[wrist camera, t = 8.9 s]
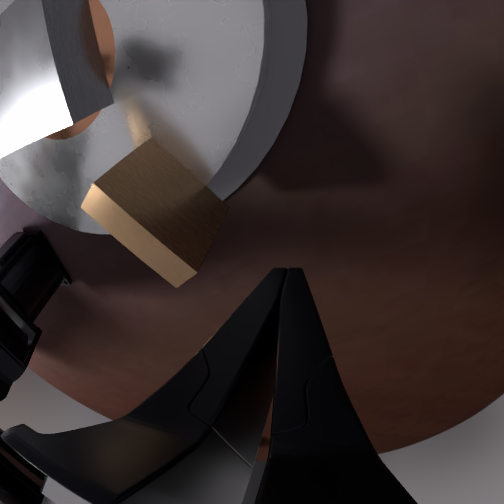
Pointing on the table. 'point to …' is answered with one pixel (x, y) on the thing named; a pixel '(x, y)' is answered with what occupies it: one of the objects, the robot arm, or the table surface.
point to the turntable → (153, 128)
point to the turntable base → (269, 96)
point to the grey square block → (48, 70)
